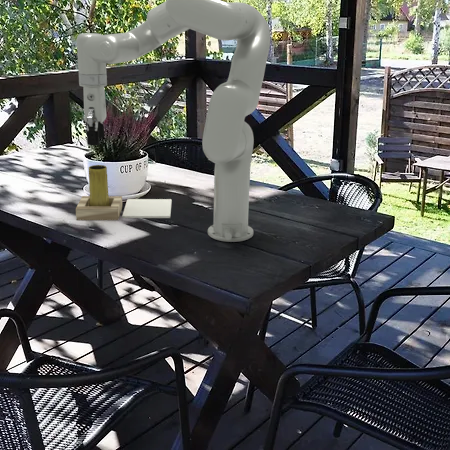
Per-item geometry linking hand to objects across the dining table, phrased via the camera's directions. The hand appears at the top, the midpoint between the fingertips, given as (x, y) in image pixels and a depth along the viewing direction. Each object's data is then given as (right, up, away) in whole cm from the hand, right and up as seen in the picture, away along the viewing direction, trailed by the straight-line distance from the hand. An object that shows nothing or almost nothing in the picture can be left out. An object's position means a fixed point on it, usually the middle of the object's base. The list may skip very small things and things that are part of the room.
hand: (95, 141), depth 172 cm
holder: (0, -21, +8) cm, 22 cm away
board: (+13, -19, +12) cm, 26 cm away
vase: (0, -21, +8) cm, 22 cm away
